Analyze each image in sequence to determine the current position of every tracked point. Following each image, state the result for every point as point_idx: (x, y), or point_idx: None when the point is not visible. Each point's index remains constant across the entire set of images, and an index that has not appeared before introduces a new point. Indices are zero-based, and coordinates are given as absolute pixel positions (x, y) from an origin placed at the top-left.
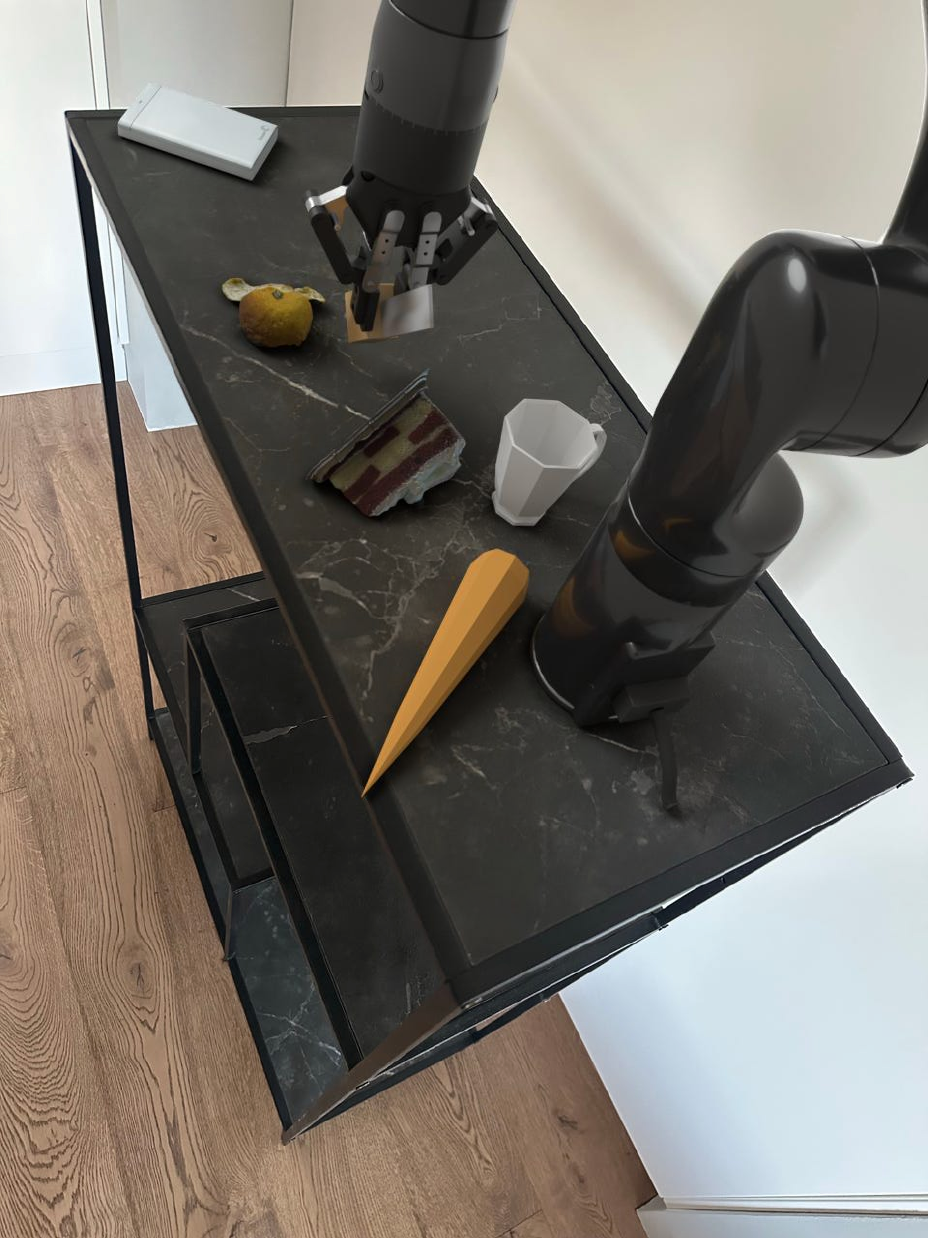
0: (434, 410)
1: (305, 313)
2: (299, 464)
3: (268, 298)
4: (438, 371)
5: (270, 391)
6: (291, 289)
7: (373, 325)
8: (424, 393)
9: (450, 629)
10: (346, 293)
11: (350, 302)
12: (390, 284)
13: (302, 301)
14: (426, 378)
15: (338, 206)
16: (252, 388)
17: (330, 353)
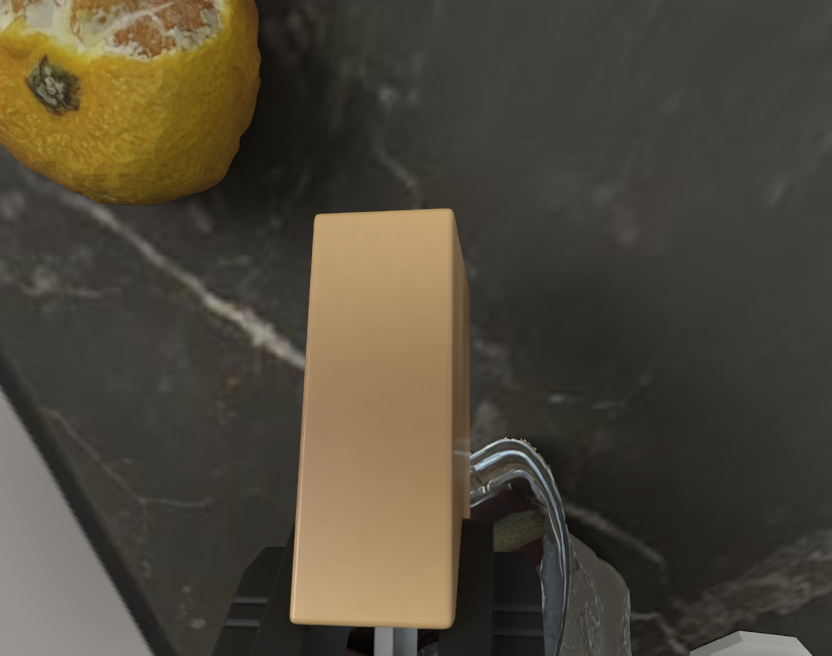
0: None
1: (197, 142)
2: (233, 540)
3: (19, 118)
4: (735, 252)
5: (151, 329)
6: (121, 6)
7: (348, 634)
8: (553, 620)
9: None
10: (312, 249)
11: (238, 588)
12: (423, 626)
13: (168, 111)
14: (561, 641)
15: None
16: (100, 318)
17: (344, 168)
